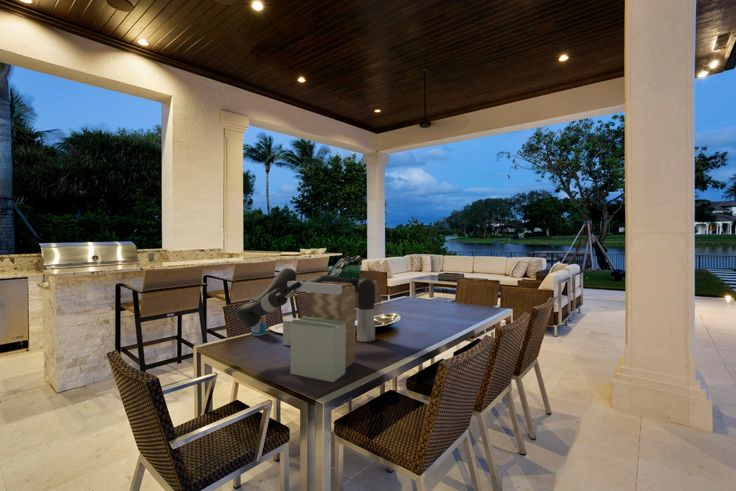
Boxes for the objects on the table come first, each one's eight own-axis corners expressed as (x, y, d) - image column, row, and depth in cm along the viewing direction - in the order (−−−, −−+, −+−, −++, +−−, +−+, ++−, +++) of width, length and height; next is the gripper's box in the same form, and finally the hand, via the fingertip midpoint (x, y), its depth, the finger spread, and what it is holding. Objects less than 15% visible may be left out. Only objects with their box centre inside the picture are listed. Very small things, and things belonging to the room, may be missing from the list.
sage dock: (290, 373, 144) (290, 320, 144) (304, 365, 154) (304, 315, 153) (333, 382, 136) (333, 326, 136) (345, 373, 145) (345, 320, 145)
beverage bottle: (250, 336, 198) (250, 300, 197) (251, 332, 206) (251, 298, 206) (266, 335, 200) (266, 300, 200) (266, 331, 208) (266, 297, 208)
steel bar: (287, 289, 148) (287, 281, 148) (292, 288, 152) (292, 280, 151) (337, 294, 138) (337, 285, 138) (341, 293, 142) (341, 284, 141)
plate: (297, 322, 232) (297, 319, 232) (326, 329, 215) (326, 326, 215) (261, 331, 211) (261, 327, 211) (290, 339, 194) (290, 335, 194)
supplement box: (296, 346, 181) (296, 321, 181) (282, 345, 182) (282, 320, 182) (301, 342, 188) (301, 318, 188) (288, 341, 190) (288, 317, 189)
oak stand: (311, 365, 154) (311, 283, 153) (326, 357, 165) (326, 280, 164) (341, 370, 148) (342, 285, 147) (354, 361, 159) (355, 282, 158)
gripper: (259, 294, 148) (288, 276, 141) (281, 290, 161) (308, 273, 154) (266, 311, 146) (296, 293, 140) (287, 305, 159) (316, 288, 153)
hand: (302, 283), depth 147 cm, fingers closed on steel bar, 3 cm apart
